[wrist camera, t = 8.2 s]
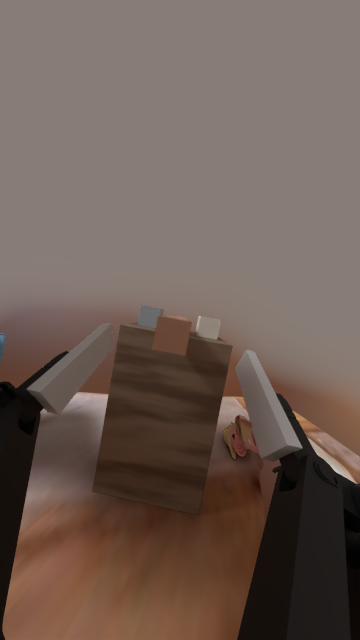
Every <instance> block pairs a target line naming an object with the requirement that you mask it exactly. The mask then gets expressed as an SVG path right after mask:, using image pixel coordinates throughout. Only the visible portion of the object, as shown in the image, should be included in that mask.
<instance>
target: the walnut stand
mask: <svg viewBox="0 0 360 640" xmlns="http://www.w3.org/2000/svg"><path fill="white" fill-rule="evenodd" d="M155 329H156V328H151V327H146V326H141V325H138V323H131V324H124V325H120V331H119V336H118V342H117V348H116V354H115V360H114V366H113V372H112V378H111V384H110V390H109V396H108V402H107V408H106V414H105V420H104V426H103V432H102V438H101V444H100V450H99V456H98V461H97V467H96V473H95V479H94V485H93V491H92V492H97V493H101V494H106V495H110V496H115V497H119V498H124V499H128V500H133V501H137V502H142V503H146V504H150V505H155V506H159V507H164V508H168V509H173V510H177V511H182V512H186V513H191V514H195V515H199V510H200V505H201V500H202V495H203V491H204V486H205V481H206V476H207V471H208V466H209V461H210V456H211V451H212V446H213V441H214V436H215V431H216V426H217V421H218V416H219V411H220V406H221V401H222V396H223V391H224V386H225V381H226V375H227V371H228V366H229V361H230V356H231V351H232V345H230V344H228V343H227V342H225V341H223V340H222V339H220V338H219V337H218V338H217V340H215V339H210V338H205V337H199V336H197V335H196V334H195V332H191V331H190V334H189V339H188V345H187V350H186V355H185V356H184V355H178V354H173V353H168V352H163V351H158V350H152V346H153V341H154V335H155Z"/></svg>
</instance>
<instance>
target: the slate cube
mask: <svg viewBox="0 0 360 640" xmlns="http://www.w3.org/2000/svg"><path fill="white" fill-rule="evenodd" d="M163 312H164V310H163V309H160V308H154V307H149V306H143V305H141V309H140V315H139V321H138V325H141V326H146V327H151V328H156V324H157V318H158V316H163Z"/></svg>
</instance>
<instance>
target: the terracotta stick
mask: <svg viewBox="0 0 360 640" xmlns="http://www.w3.org/2000/svg"><path fill="white" fill-rule="evenodd" d="M191 323H192V322H191V321H190V320H188V319H187V318H184V317H178V316H158V318H157V324H156V329H155V335H154V341H153V346H152V350H158V351H163V352H168V353H173V354H178V355H184V356H185V355H186V350H187V345H188V339H189V334H190V328H191Z"/></svg>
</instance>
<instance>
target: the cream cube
mask: <svg viewBox="0 0 360 640" xmlns="http://www.w3.org/2000/svg"><path fill="white" fill-rule="evenodd" d="M220 323H221V320H219V319H214V318H208V317H203V316H199V317H198V322H197V327H196V332H195V334H196V335H197V336H199V337H205V338H210V339H215V340H217V338H218V333H219V328H220Z"/></svg>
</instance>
